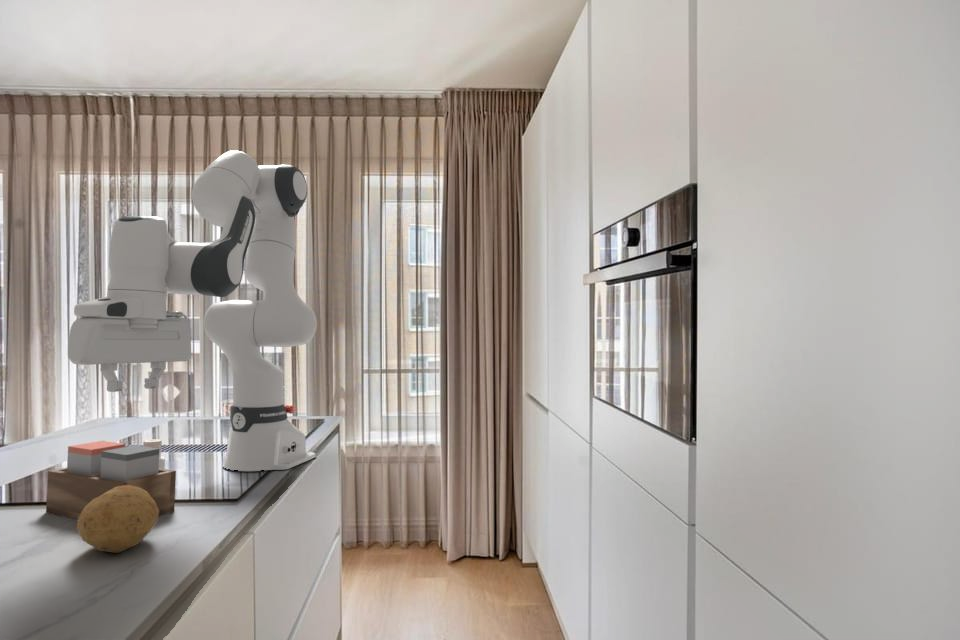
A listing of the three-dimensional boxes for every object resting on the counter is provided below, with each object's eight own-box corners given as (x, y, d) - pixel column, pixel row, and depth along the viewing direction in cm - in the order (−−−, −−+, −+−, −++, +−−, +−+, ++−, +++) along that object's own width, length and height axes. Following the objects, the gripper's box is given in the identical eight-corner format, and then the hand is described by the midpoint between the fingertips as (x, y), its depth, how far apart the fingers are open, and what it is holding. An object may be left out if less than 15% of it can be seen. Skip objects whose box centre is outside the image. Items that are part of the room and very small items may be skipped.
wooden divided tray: (104, 497, 106) (105, 459, 107) (174, 511, 100) (175, 470, 100) (46, 512, 97) (48, 470, 97) (119, 528, 90) (121, 483, 91)
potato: (61, 572, 74) (64, 509, 74) (90, 535, 87) (92, 482, 87) (147, 563, 77) (150, 503, 78) (163, 529, 90) (165, 478, 91)
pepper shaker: (136, 488, 113) (138, 440, 113) (159, 485, 116) (161, 438, 116) (141, 492, 110) (143, 443, 110) (164, 489, 113) (166, 441, 113)
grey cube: (133, 479, 101) (135, 445, 101) (157, 483, 99) (159, 448, 99) (99, 487, 95) (101, 451, 95) (124, 492, 93) (126, 454, 93)
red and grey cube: (100, 473, 104) (102, 440, 104) (123, 477, 102) (125, 443, 102) (66, 481, 98) (68, 446, 99) (89, 485, 96) (91, 449, 96)
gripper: (176, 311, 109) (173, 384, 108) (63, 305, 90) (59, 393, 89) (201, 312, 106) (198, 386, 106) (90, 305, 87) (86, 396, 87)
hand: (133, 389), depth 97 cm, fingers open, 5 cm apart
